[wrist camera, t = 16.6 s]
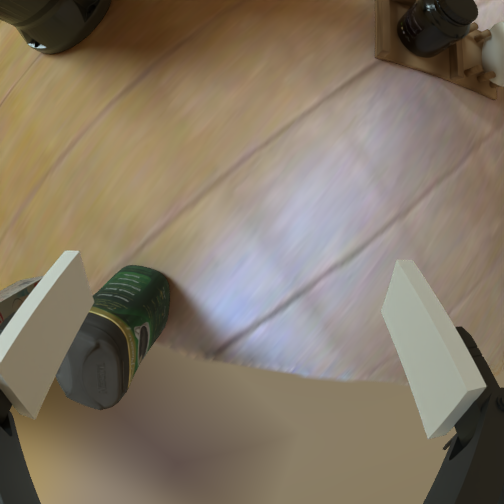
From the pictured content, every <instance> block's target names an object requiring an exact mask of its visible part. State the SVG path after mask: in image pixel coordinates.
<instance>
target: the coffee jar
mask: <svg viewBox="0 0 504 504" xmlns="http://www.w3.org/2000/svg"><path fill="white" fill-rule="evenodd" d="M169 292H170V291H169V284H168V282H167V280H166V278H165V277H164V276H163V275H162V274H161V273H160V272H158V271H156V270H154V269H151V268H147V267H143V266H136V265H130V266H126V267H124V268H122V269H121V270H120V271H119V272H117V273H116V274H115V275H114V276H113V277H112V278H111V279H110V280H109V281H108V282H107V283H106V284H105V285H104V286H103V287H102V288H101V289H100V290H99V291H98V292H97V293H96V294H95V295H94V296H93V299H94V304H93V305H92V307H91V309H90V311H89V312H88V314H87V316H86V318H85V320H84V321H83V323H82V325H81V327H80V329H79V331H78V332H77V334H76V336H75V338H74V340H73V342H72V344H71V346H70V348H69V349H68V351H67V353H66V355H65V357H64V359H63V361H62V363H61V365H60V367H59V369H58V371H57V373H56V375H55V376H56V378H57V381H58V383H59V385H60V386H61V388H62V390H63V391H64V392H65V395H66V397H67V398H69V399H71V400H73V401H76V402H78V403H80V404H83V405H85V406H88V407H91V408H94V409H98V410H103V409H107V408H110V407H113V406H114V405H115V404H117V403H118V402H119V401H120V399H121V398H122V397H123V396H124V394H125V393H126V392H127V390H128V388H129V386H130V384H131V381H132V379H133V377H134V374H135V372H136V370H137V368H138V366H139V364H140V363H141V361H142V360H143V358H144V357H145V355H146V354H147V352H148V351H149V349H150V348H151V346H152V345H153V343H154V342H155V341H156V339H157V338H158V337H159V335H160V334H161V332H162V331H163V329H164V327H165V325H166V322H167V317H168V312H169V301H170V293H169Z"/></svg>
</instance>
